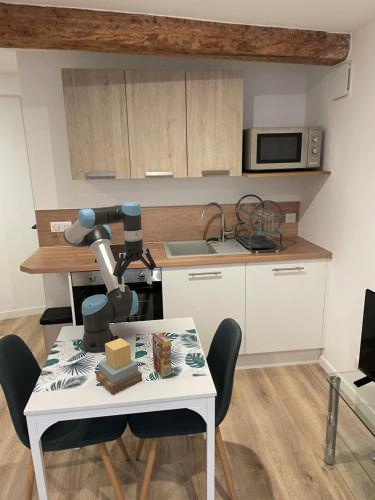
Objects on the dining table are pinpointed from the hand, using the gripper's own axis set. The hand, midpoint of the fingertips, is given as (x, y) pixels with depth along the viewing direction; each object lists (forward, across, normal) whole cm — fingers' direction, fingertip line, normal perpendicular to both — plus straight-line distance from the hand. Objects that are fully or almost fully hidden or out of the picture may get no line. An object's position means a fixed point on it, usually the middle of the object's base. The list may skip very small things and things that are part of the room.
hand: (136, 287), depth 154 cm
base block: (+31, -18, -14) cm, 39 cm away
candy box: (+31, -2, -20) cm, 37 cm away
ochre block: (+23, -18, -14) cm, 32 cm away
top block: (+27, -18, -14) cm, 36 cm away
